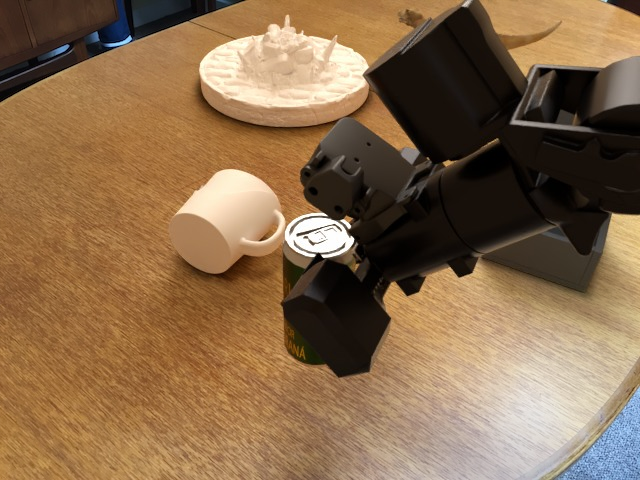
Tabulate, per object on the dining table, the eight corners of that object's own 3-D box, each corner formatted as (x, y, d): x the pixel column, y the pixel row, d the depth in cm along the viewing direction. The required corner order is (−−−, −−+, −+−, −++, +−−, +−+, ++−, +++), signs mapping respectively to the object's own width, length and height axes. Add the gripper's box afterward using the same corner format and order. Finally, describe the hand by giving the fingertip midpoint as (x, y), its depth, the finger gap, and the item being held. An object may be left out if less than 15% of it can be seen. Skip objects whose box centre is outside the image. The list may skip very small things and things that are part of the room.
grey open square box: (584, 292, 65) (602, 253, 62) (480, 257, 69) (492, 218, 65) (599, 234, 73) (616, 196, 69) (506, 205, 77) (517, 167, 73)
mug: (167, 258, 67) (156, 201, 62) (213, 213, 74) (207, 158, 68) (260, 293, 63) (257, 236, 58) (300, 242, 70) (301, 187, 65)
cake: (182, 120, 90) (174, 60, 84) (220, 47, 112) (216, -6, 105) (366, 134, 89) (372, 74, 83) (369, 57, 111) (374, 5, 104)
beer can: (325, 312, 53) (330, 203, 45) (361, 353, 49) (373, 243, 41) (272, 336, 50) (267, 226, 43) (305, 381, 47) (307, 270, 39)
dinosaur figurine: (391, 66, 108) (400, -10, 100) (541, 89, 103) (565, 11, 95) (383, 84, 102) (392, 5, 94) (541, 109, 97) (566, 28, 89)
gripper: (436, 42, 40) (291, 145, 51) (318, 184, 27) (155, 282, 38) (526, 170, 43) (370, 243, 53) (457, 356, 30) (269, 403, 40)
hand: (302, 283), depth 46 cm, fingers closed on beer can, 5 cm apart
